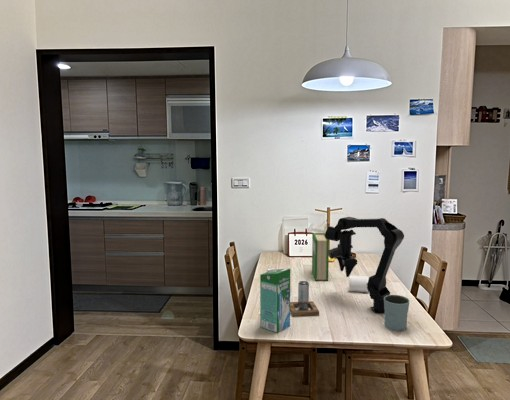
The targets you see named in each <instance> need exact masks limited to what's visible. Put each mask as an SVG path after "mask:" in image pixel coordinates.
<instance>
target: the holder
mask: <svg viewBox="0 0 510 400" xmlns="http://www.w3.org/2000/svg"><path fill="white" fill-rule="evenodd" d="M309 308H310V309H309V310H298V301H290V315H291V316H292V317H293V318H294V317H295V318H296V317H317V316H318V317H319V316H320V311H319V309H318V307H317V305H316V304H315V302H314V301H313V300H312V301H311V300H309Z"/></svg>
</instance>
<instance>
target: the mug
mask: <svg viewBox="0 0 510 400" xmlns="http://www.w3.org/2000/svg"><path fill="white" fill-rule="evenodd" d="M369 277H370V276H364V275H351V274H350V275H349V277H348V279H349V280H348V291H349V292H360V293H369V291H368V289H367V285H366V284H367V283H368V280H369Z"/></svg>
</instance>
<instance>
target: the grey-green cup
mask: <svg viewBox="0 0 510 400" xmlns="http://www.w3.org/2000/svg"><path fill="white" fill-rule="evenodd" d="M409 308H410V299H409V298H408V297H406V296H403V295H400V294H399V295H398V294H390V295H387V296H385V297H384V309H385V313H384V327H385V326H386V327H385V328H387V329H389V330H390V329H391V330H390V331H396V332H402V331H401V330H403V331H405V330H406V329H407V324H408V314H409ZM404 329H405V330H404Z"/></svg>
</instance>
